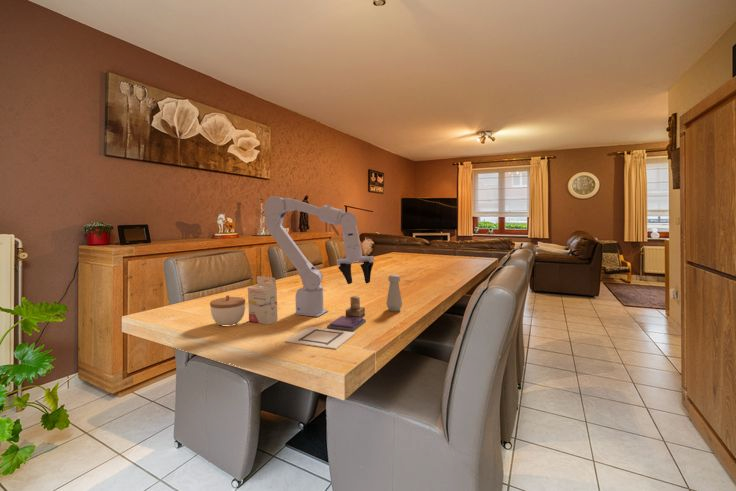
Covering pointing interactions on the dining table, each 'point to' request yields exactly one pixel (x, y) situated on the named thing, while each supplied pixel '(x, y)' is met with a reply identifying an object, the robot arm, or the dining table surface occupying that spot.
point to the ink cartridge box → (263, 301)
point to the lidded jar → (228, 310)
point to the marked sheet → (321, 337)
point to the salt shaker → (394, 294)
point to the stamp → (355, 308)
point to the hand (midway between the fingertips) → (358, 283)
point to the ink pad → (346, 323)
